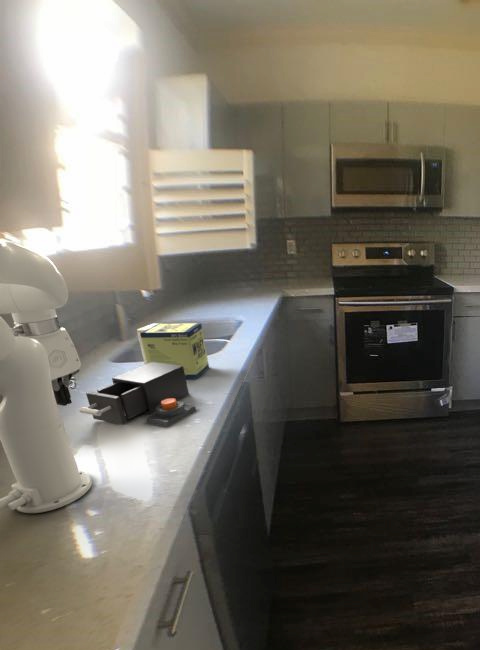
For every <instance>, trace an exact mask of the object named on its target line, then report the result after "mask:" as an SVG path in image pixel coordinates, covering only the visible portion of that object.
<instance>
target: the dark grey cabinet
mask: <svg viewBox="0 0 480 650" xmlns="http://www.w3.org/2000/svg"><path fill="white" fill-rule="evenodd" d="M111 380H112V384H114V383H116V382H124V383H130V384H136V385H142V386H143V389H144V393H145V397H146V401H147V405H148V410H146V411H144V412H142V413H141V414H147V415H152V414H154V413H156V409H155V408H156V407H157V406H158V405H160V404H161V401H162V400H165V399H168V398H175V399H176V401H181V400H182V399H184V398H186V397H188V396H190V393H189V387H188V383H187V379H186V378H185V373H184V369H183V366H180V365H173V364H165V363H158V362H150V363H148V364H143V365H140V366H138V367H135V368H133V369H131V370H129V371H126V372H123V373H121V374H119V375H116V376H113V377H112V378H111Z"/></svg>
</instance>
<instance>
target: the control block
mask: <svg viewBox="0 0 480 650" xmlns="http://www.w3.org/2000/svg"><path fill="white" fill-rule="evenodd" d="M176 402H177V407H175V408H172V409H162V405H161V404H160V405H158V406H157V407H156V408H155V409H156V412H155V413H153V414H149V415H148V416H146V417H145V422H146V424H150V425H155V426H160V427H166V428H168V427H170V426H172V425H174V424H175V423H177V422H179V421H180V420H182V419H184V418H186V417H187V416H189V415H191V414H193V413H194V412H196V411H197V409H196V406H195V405H193V404H188V403H184V402H183V401H181V400H178V401H176Z"/></svg>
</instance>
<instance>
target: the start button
mask: <svg viewBox="0 0 480 650" xmlns="http://www.w3.org/2000/svg"><path fill="white" fill-rule="evenodd" d="M161 405H162V409H172V408H175V407H177V402H176V399H175V398H168V399H165V400H162V401H161Z"/></svg>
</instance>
